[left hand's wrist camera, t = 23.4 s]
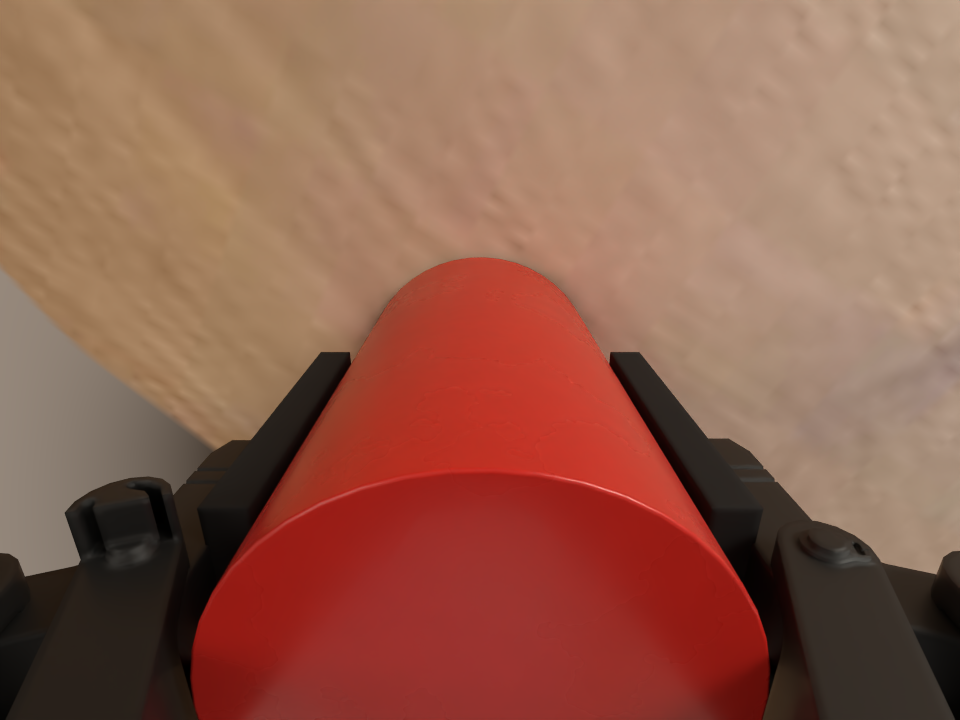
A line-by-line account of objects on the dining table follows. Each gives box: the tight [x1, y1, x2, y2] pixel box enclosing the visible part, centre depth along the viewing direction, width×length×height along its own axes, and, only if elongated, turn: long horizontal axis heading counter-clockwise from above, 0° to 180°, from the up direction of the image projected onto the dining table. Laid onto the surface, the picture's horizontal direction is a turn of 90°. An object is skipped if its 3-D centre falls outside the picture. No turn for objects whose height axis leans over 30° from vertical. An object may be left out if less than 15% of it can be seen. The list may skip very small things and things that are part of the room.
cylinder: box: [190, 258, 770, 720], centre depth 11 cm, size 7×7×11 cm
